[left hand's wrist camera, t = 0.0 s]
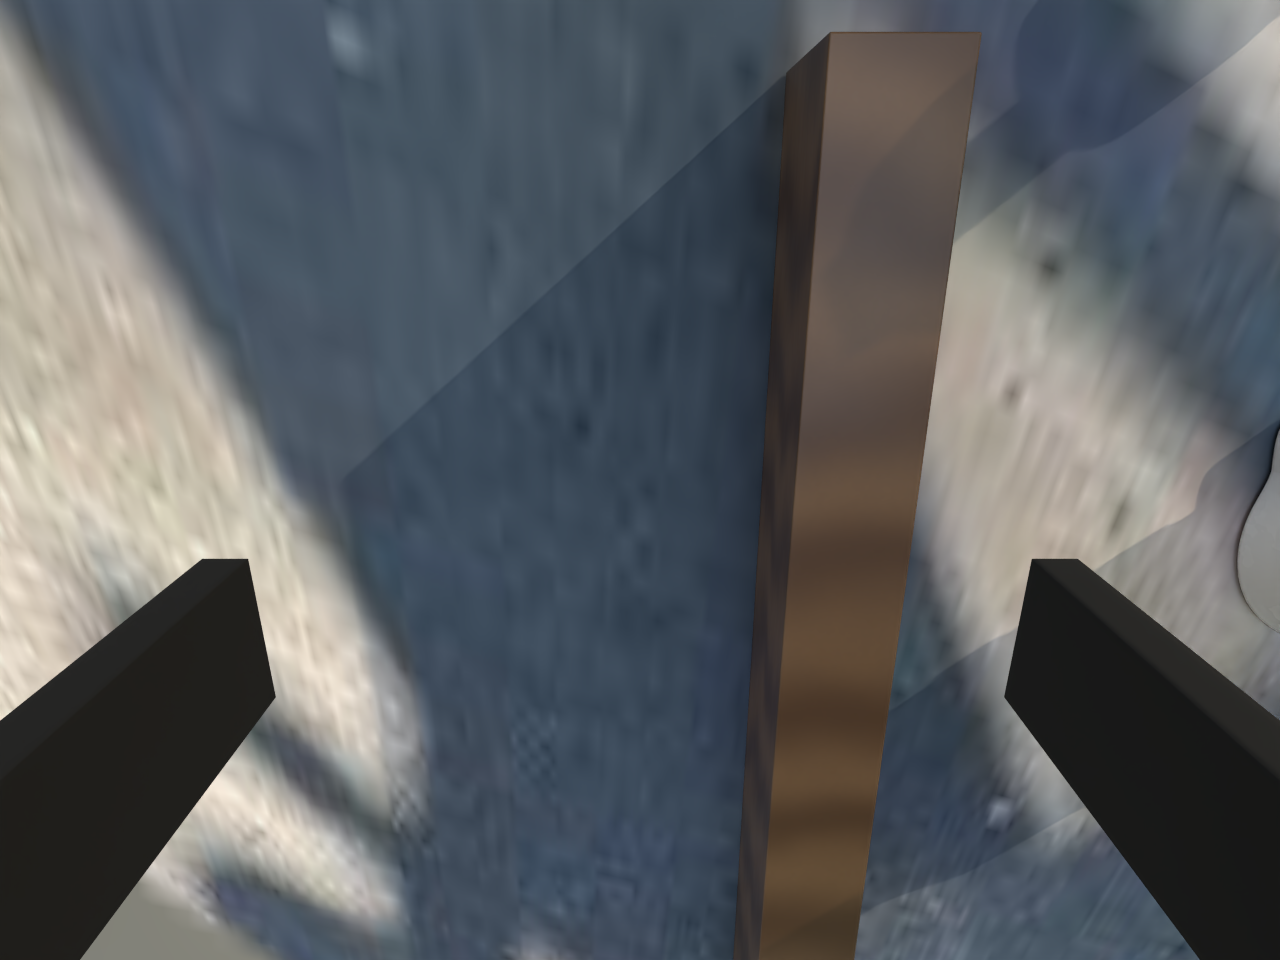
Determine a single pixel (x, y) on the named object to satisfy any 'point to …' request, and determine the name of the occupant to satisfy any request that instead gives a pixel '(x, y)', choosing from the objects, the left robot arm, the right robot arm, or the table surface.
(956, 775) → the table surface
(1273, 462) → the right robot arm
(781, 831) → the post
